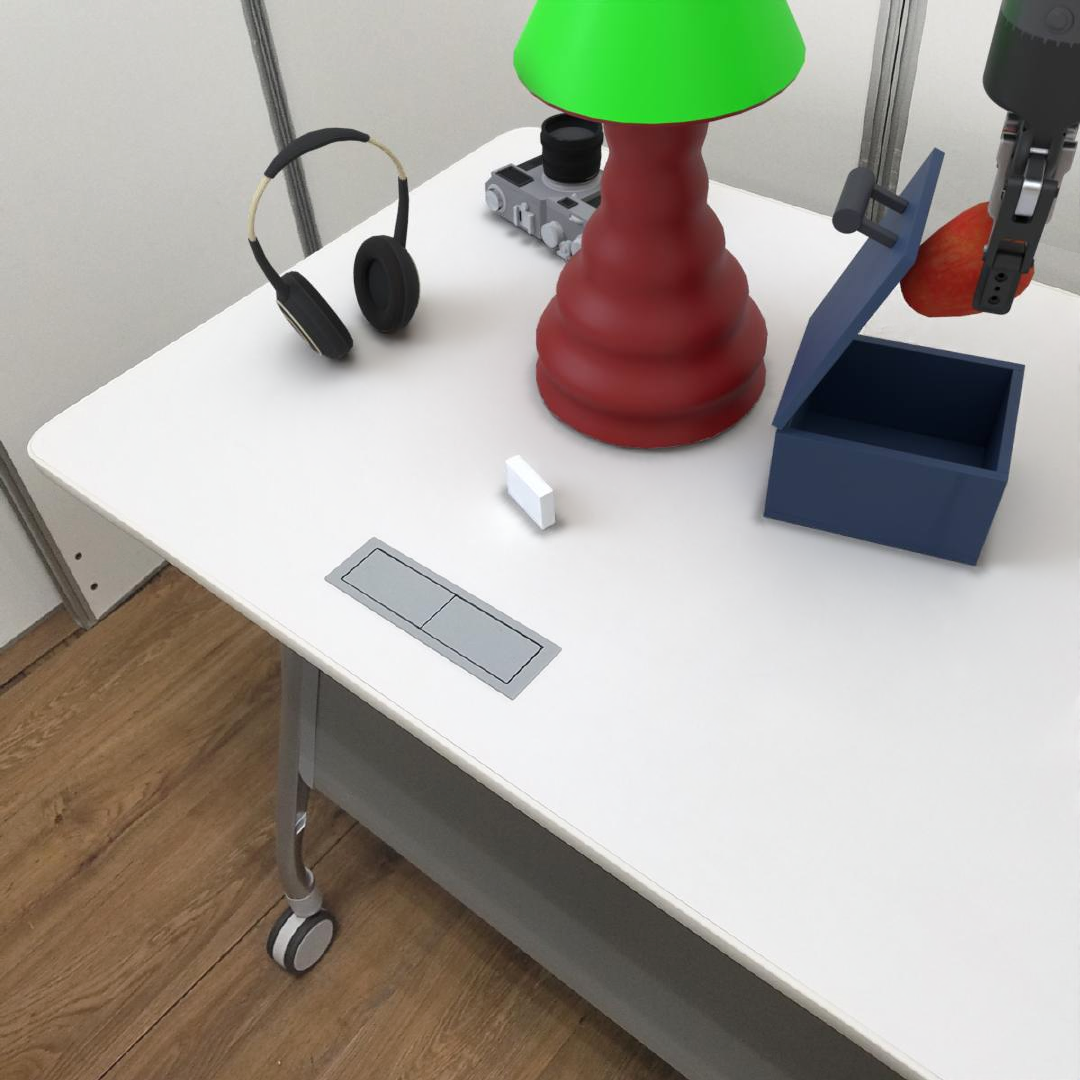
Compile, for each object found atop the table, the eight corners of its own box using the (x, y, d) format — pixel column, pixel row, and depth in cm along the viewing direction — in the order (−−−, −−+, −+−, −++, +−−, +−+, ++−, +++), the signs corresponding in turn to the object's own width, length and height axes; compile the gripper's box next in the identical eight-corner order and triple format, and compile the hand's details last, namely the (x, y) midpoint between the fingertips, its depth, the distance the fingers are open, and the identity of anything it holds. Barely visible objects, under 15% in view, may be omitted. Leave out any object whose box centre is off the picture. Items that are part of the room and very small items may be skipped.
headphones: (451, 327, 101) (421, 123, 86) (308, 394, 96) (250, 190, 81) (404, 284, 106) (368, 84, 91) (266, 346, 101) (204, 144, 86)
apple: (946, 352, 72) (1055, 301, 67) (889, 314, 69) (999, 256, 63) (936, 275, 75) (1041, 219, 69) (881, 235, 71) (986, 173, 66)
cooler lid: (945, 152, 71) (878, 115, 71) (915, 262, 64) (840, 221, 63) (818, 323, 84) (761, 292, 84) (781, 430, 77) (718, 397, 77)
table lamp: (808, 356, 96) (911, -268, 62) (678, 489, 86) (715, -163, 52) (625, 278, 104) (627, -304, 71) (489, 391, 95) (416, -220, 61)
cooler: (994, 450, 87) (1025, 364, 80) (975, 566, 79) (1007, 482, 73) (799, 410, 91) (812, 325, 85) (763, 516, 84) (775, 432, 77)
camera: (675, 149, 101) (596, 186, 97) (667, 244, 109) (594, 283, 104) (548, 87, 111) (471, 118, 106) (549, 179, 118) (477, 212, 113)
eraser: (542, 530, 84) (539, 497, 81) (508, 493, 87) (504, 460, 84) (555, 523, 84) (553, 490, 82) (521, 487, 87) (518, 453, 84)
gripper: (1155, 78, 51) (1050, 359, 63) (1161, -45, 59) (1067, 224, 72) (986, 60, 53) (917, 335, 66) (1015, -56, 62) (949, 207, 74)
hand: (996, 276), depth 69 cm, fingers closed on apple, 6 cm apart
